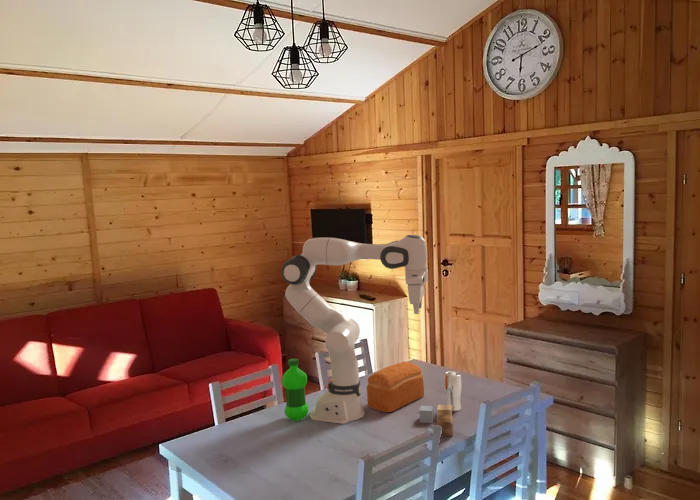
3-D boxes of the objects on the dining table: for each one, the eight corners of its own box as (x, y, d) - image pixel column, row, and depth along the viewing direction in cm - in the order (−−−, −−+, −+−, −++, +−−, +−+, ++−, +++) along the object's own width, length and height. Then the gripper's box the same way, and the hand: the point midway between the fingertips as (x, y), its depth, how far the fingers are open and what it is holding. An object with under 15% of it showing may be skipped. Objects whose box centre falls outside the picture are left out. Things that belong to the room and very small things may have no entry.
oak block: (437, 422, 222) (437, 409, 221) (438, 417, 227) (438, 404, 226) (451, 422, 221) (450, 410, 220) (451, 417, 225) (451, 404, 225)
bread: (427, 396, 263) (425, 361, 261) (389, 414, 244) (388, 377, 242) (402, 389, 272) (401, 356, 271) (364, 407, 254) (362, 371, 252)
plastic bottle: (304, 424, 238) (300, 364, 235) (280, 422, 242) (276, 363, 239) (313, 415, 248) (309, 356, 245) (290, 413, 251) (286, 355, 248)
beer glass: (443, 410, 245) (441, 375, 244) (448, 404, 251) (447, 370, 250) (459, 412, 242) (458, 377, 240) (464, 406, 248) (463, 371, 247)
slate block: (419, 422, 235) (419, 410, 234) (421, 417, 239) (420, 405, 239) (432, 423, 234) (432, 410, 233) (433, 418, 238) (433, 406, 238)
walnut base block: (436, 435, 222) (436, 423, 221) (437, 429, 228) (437, 416, 227) (452, 436, 220) (452, 423, 220) (453, 429, 226) (453, 417, 226)
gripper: (411, 272, 243) (413, 305, 245) (405, 280, 223) (406, 316, 225) (427, 271, 242) (428, 305, 243) (421, 280, 222) (423, 316, 223)
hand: (417, 310), depth 234 cm, fingers open, 8 cm apart
